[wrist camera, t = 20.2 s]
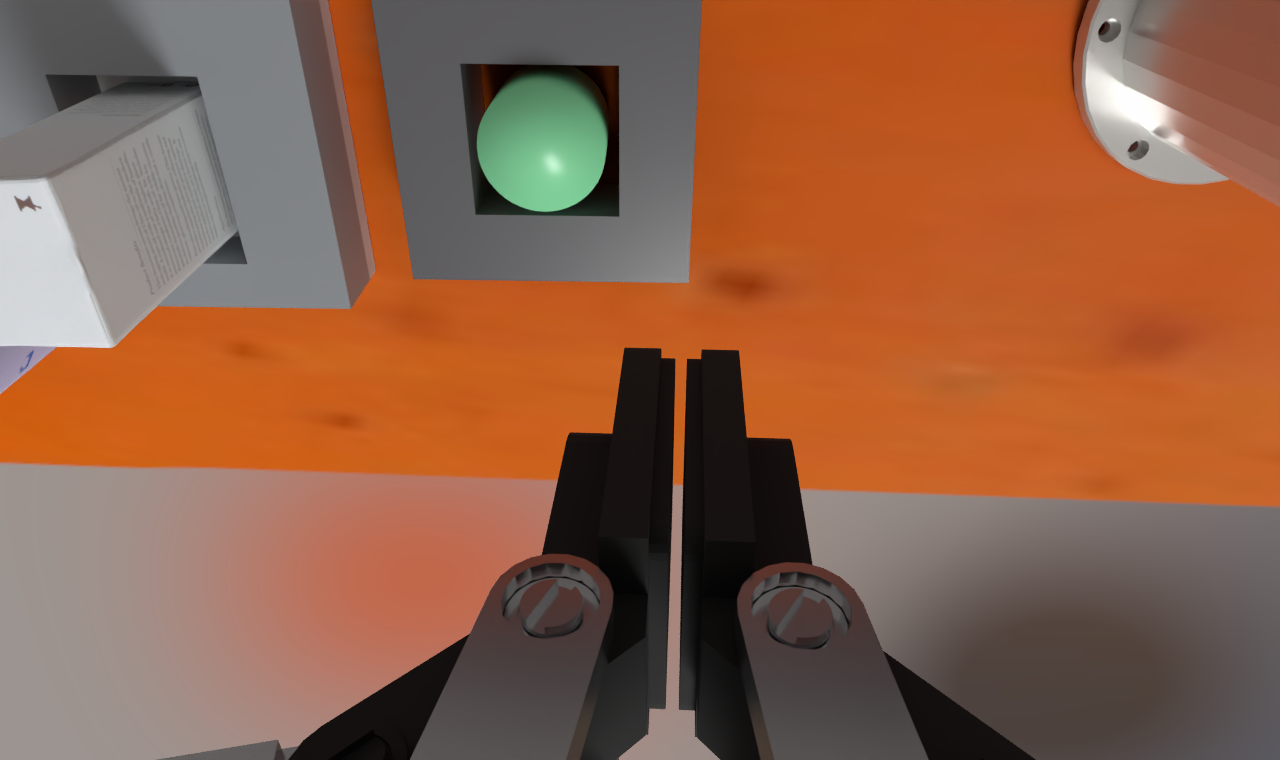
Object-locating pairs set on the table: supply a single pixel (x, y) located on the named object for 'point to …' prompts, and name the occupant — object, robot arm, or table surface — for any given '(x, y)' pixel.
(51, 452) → the table surface
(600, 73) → the table surface
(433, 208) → the button housing
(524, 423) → the table surface
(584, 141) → the button
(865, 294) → the table surface
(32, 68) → the grey slotted board
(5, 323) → the skincare box
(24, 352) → the aerosol can
